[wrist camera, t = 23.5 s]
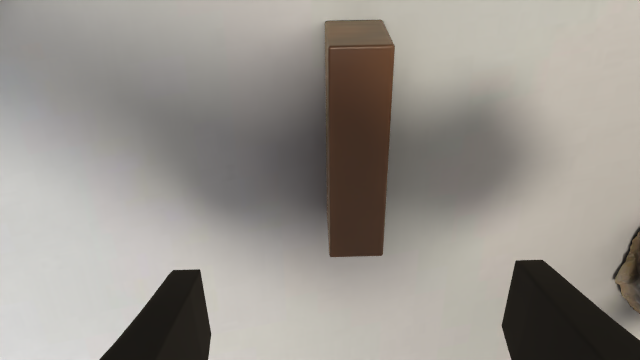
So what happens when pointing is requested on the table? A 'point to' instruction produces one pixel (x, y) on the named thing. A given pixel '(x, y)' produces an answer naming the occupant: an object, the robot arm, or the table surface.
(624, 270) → the forked tree stump
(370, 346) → the table surface
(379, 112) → the wooden block
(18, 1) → the table surface
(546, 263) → the robot arm
